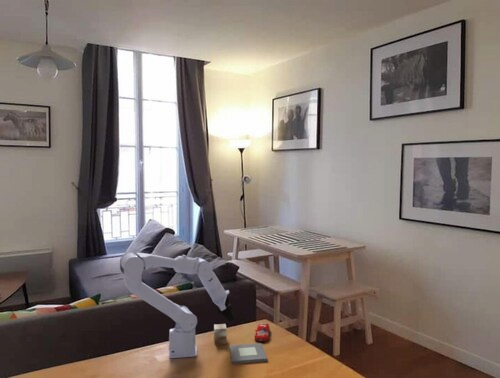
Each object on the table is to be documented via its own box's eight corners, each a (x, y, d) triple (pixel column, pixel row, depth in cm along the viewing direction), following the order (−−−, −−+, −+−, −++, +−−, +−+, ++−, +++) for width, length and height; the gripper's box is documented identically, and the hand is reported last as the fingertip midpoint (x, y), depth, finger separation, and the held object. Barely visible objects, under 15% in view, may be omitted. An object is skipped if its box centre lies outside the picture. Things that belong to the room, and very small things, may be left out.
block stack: (214, 344, 146) (214, 329, 146) (214, 339, 151) (213, 324, 151) (226, 344, 147) (226, 328, 147) (225, 338, 151) (225, 323, 151)
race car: (267, 344, 147) (267, 333, 147) (253, 343, 148) (253, 333, 148) (271, 329, 160) (271, 320, 160) (258, 329, 161) (258, 319, 161)
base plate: (232, 363, 131) (232, 360, 131) (229, 348, 143) (229, 345, 143) (267, 361, 133) (267, 358, 133) (261, 345, 145) (261, 342, 145)
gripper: (225, 290, 137) (243, 319, 141) (221, 273, 151) (237, 300, 155) (207, 300, 137) (226, 329, 141) (205, 282, 151) (221, 309, 155)
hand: (230, 314), depth 148 cm, fingers open, 7 cm apart
